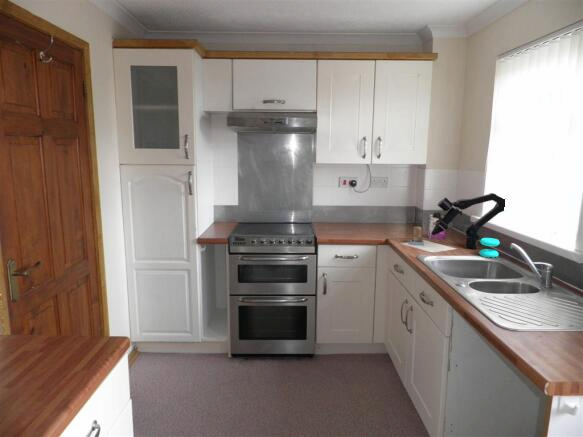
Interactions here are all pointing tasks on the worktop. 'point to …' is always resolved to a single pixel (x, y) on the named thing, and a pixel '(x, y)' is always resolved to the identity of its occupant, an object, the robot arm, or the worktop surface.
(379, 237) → the worktop surface
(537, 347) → the worktop surface
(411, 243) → the socket
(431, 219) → the candy bar box
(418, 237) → the walnut column
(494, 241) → the pair of cyan ovals
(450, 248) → the white rectangular sheet
